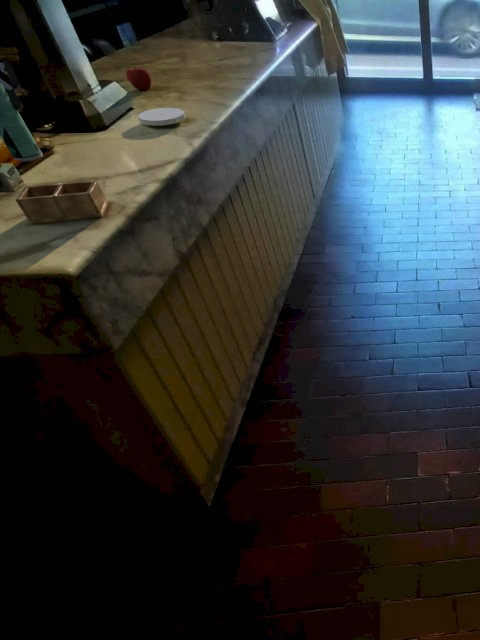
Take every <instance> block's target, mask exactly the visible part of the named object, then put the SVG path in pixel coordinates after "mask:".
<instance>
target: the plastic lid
mask: <svg viewBox="0 0 480 640" xmlns="http://www.w3.org/2000/svg"><path fill="white" fill-rule="evenodd" d="M137 118H138V120H139V122H140V124H141V125H144V126H152V127H153V126H154V127H155V126H169V125H174V124H178V123H180V122H182V121H185V120H186V119H187V115H186V113H185V111H184V110H183V109H181V108H176V107H159V108H151V109H147V110H145V111H141V112H140V113H138V114H137Z"/></svg>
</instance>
